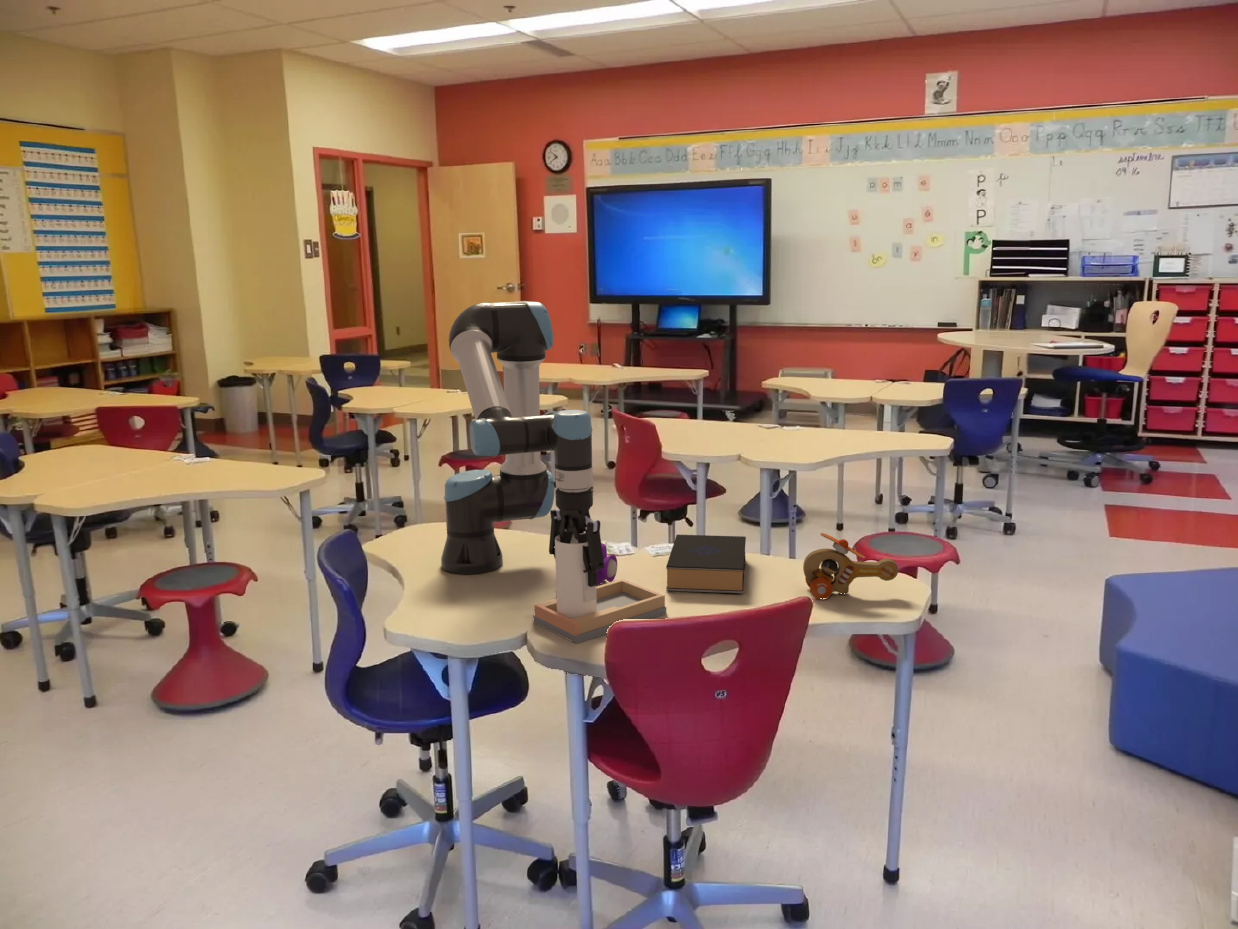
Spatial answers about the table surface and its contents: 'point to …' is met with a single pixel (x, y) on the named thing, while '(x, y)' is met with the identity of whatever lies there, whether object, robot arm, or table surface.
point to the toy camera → (607, 567)
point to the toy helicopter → (841, 569)
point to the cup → (571, 579)
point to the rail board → (602, 611)
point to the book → (707, 564)
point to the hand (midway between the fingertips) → (576, 594)
